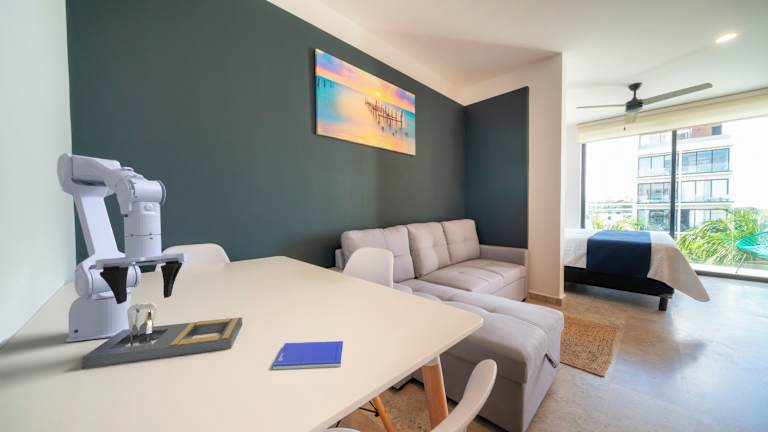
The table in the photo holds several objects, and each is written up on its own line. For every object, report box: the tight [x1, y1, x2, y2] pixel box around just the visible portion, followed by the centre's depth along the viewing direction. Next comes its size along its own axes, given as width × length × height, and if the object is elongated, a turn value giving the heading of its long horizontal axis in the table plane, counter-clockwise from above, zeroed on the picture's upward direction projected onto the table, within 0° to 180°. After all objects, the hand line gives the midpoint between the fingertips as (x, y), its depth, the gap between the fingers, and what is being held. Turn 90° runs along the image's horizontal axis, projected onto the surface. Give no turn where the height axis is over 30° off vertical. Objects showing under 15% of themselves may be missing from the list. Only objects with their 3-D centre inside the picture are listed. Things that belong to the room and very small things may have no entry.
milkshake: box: [127, 301, 157, 346], centre depth 55 cm, size 5×5×10 cm
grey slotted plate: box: [81, 317, 243, 370], centre depth 57 cm, size 24×12×2 cm, turn 109°
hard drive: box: [272, 340, 344, 370], centre depth 53 cm, size 2×8×12 cm
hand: (145, 299), depth 55 cm, fingers open, 7 cm apart
